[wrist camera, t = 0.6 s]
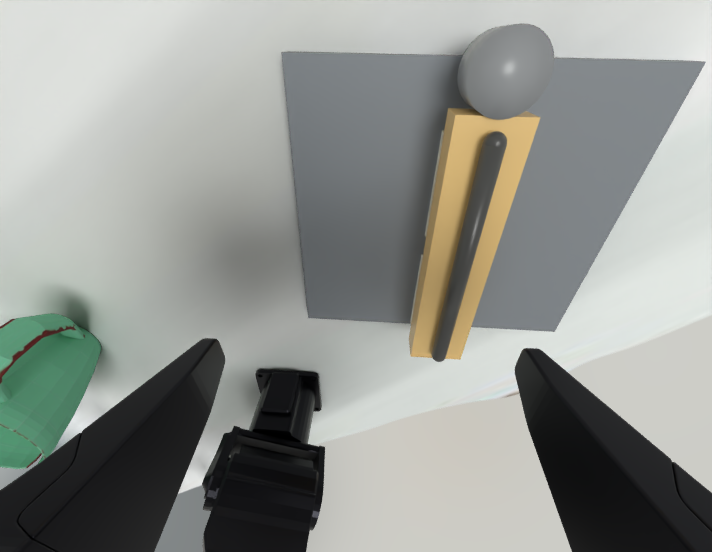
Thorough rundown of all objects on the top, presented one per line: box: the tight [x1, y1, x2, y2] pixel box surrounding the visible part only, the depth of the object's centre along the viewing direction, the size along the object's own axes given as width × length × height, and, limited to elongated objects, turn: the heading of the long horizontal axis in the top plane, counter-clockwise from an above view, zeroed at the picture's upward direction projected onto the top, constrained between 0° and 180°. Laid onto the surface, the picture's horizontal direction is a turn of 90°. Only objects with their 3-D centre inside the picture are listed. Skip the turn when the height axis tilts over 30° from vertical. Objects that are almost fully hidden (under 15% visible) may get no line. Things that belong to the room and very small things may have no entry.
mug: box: [0, 314, 101, 469], centre depth 26 cm, size 15×10×10 cm
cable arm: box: [409, 24, 554, 362], centre depth 18 cm, size 19×4×3 cm, turn 179°
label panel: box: [282, 52, 706, 332], centre depth 20 cm, size 19×20×2 cm
